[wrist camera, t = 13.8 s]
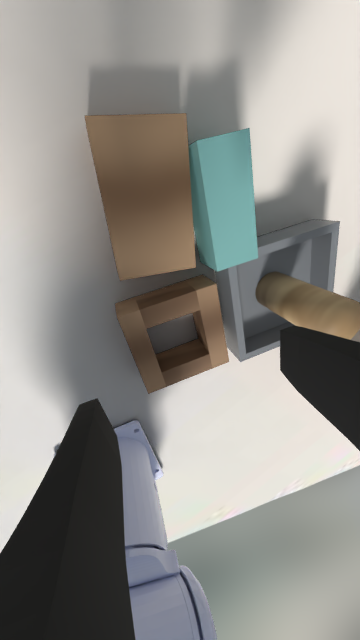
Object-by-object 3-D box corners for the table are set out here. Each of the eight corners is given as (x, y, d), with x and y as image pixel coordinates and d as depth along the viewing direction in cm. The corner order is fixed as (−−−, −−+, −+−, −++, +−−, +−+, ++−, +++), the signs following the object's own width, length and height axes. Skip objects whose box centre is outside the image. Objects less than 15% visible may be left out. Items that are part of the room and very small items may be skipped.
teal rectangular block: (236, 250, 18) (258, 257, 16) (200, 262, 18) (217, 271, 15) (223, 141, 15) (249, 128, 13) (179, 152, 15) (196, 140, 12)
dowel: (286, 299, 21) (361, 336, 15) (256, 310, 21) (321, 353, 15) (286, 266, 20) (368, 294, 14) (254, 278, 19) (324, 311, 13)
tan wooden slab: (184, 260, 18) (195, 267, 16) (117, 271, 17) (119, 280, 15) (173, 127, 14) (186, 113, 12) (86, 130, 13) (84, 115, 11)
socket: (216, 346, 22) (229, 361, 20) (143, 374, 21) (148, 393, 19) (202, 274, 19) (216, 283, 16) (114, 303, 17) (116, 317, 15)
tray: (308, 314, 24) (329, 325, 22) (226, 346, 22) (240, 361, 20) (312, 219, 19) (339, 221, 17) (211, 251, 18) (226, 258, 16)
